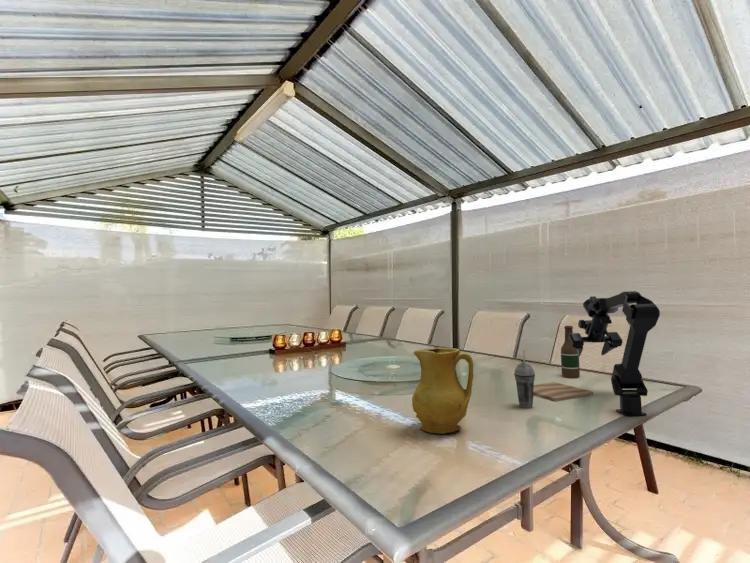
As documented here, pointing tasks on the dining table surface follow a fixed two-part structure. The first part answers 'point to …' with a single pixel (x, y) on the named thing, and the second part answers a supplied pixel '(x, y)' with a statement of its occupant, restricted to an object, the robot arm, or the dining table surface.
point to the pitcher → (441, 390)
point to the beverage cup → (525, 384)
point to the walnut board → (559, 391)
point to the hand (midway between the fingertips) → (590, 355)
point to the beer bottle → (569, 357)
